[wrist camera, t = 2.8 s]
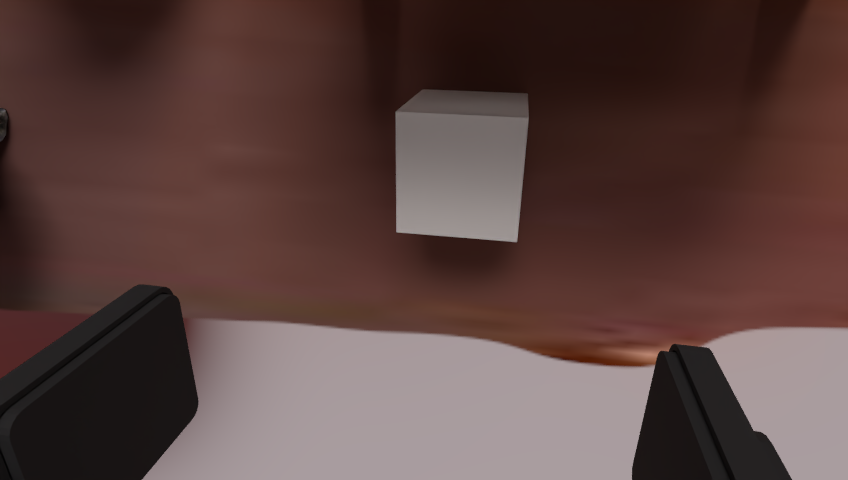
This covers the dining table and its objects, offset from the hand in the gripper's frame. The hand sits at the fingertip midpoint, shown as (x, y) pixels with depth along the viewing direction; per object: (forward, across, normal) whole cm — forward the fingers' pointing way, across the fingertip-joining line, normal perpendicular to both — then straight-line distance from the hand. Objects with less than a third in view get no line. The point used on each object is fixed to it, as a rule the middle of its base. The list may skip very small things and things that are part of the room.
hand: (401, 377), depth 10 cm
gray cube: (+18, 0, 0) cm, 18 cm away
